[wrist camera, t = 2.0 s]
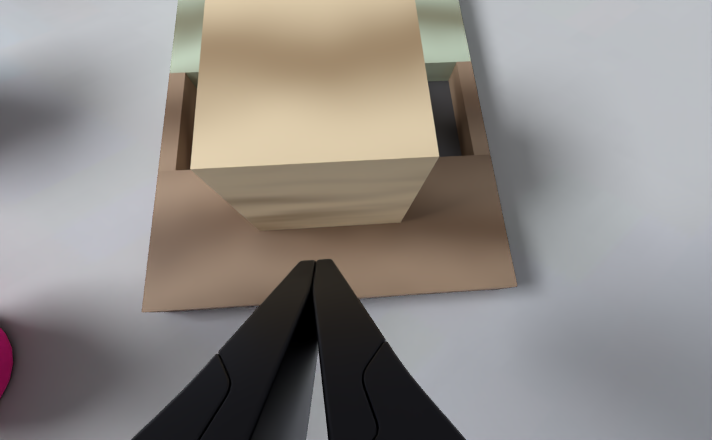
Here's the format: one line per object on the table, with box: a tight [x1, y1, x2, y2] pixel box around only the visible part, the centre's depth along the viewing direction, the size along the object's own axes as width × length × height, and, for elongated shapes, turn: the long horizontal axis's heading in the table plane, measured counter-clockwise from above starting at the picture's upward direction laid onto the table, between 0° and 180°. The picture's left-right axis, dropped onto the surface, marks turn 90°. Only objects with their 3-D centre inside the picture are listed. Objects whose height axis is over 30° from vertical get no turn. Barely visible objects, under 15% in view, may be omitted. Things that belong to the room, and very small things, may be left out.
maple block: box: [190, 0, 439, 231], centre depth 15 cm, size 8×8×8 cm
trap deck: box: [142, 0, 517, 312], centre depth 21 cm, size 24×20×2 cm
